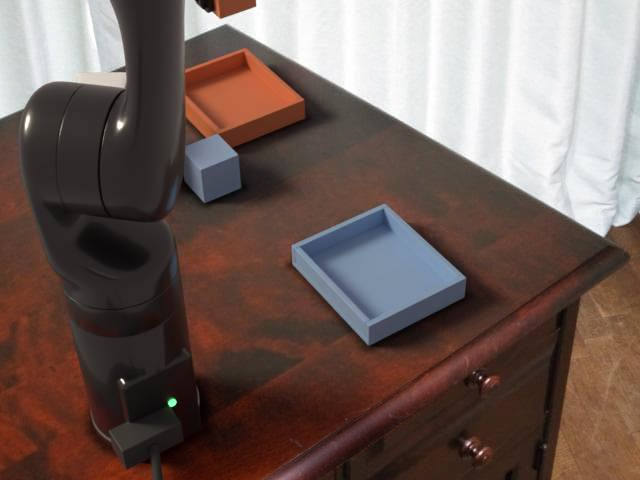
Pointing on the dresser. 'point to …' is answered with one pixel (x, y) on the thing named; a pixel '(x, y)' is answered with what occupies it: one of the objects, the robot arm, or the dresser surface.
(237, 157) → the blue block
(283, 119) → the clay tray
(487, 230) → the dresser surface
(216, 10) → the clay block
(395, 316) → the blue tray
